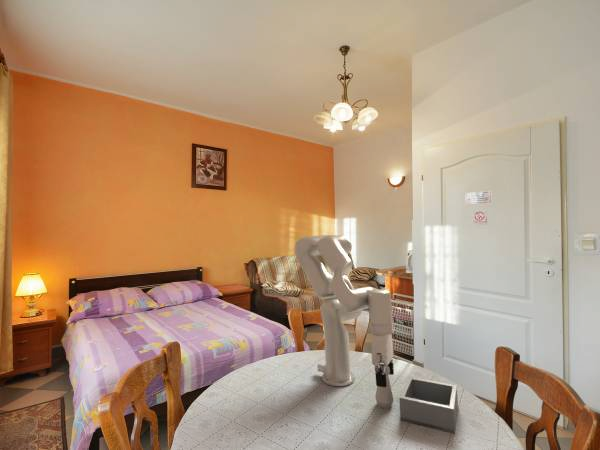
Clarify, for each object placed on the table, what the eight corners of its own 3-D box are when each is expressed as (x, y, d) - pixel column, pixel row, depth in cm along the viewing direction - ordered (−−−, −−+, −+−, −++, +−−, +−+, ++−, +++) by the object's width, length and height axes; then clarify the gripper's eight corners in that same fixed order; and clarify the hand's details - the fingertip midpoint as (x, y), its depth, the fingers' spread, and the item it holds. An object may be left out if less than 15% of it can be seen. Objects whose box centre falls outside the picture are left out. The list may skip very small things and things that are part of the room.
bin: (400, 420, 99) (399, 397, 99) (409, 397, 112) (408, 376, 112) (454, 433, 91) (453, 409, 92) (457, 407, 105) (456, 385, 105)
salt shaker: (394, 410, 104) (392, 370, 104) (376, 409, 105) (374, 369, 105) (392, 401, 110) (391, 362, 110) (375, 400, 111) (373, 362, 111)
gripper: (377, 320, 117) (381, 368, 116) (362, 334, 102) (366, 389, 101) (398, 321, 113) (402, 371, 113) (386, 336, 98) (390, 393, 98)
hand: (385, 379), depth 107 cm, fingers open, 9 cm apart
